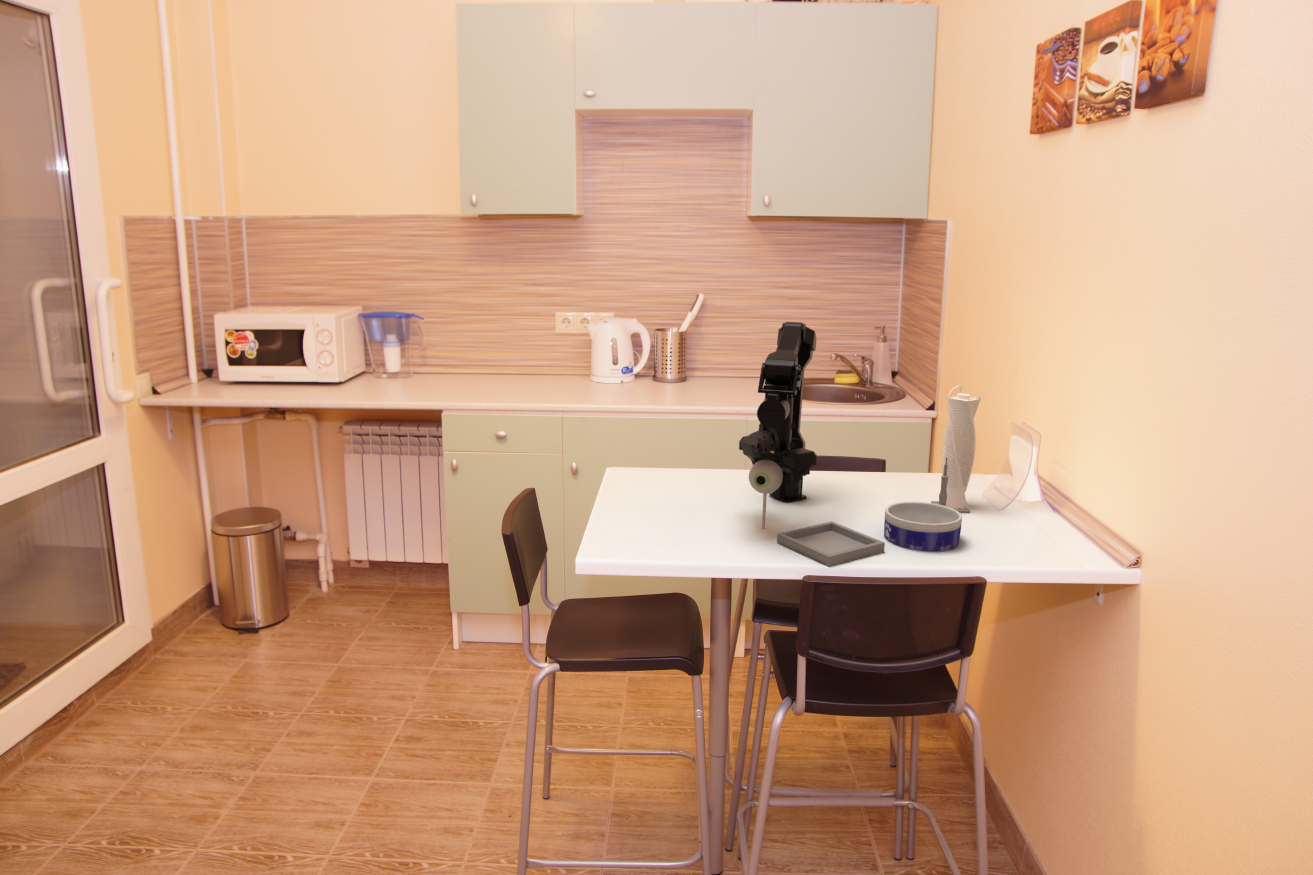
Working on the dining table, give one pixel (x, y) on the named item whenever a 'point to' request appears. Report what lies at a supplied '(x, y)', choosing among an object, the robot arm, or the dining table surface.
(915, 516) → the dog bowl
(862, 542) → the tray
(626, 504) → the dining table surface
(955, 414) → the skyscraper
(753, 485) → the lollipop
